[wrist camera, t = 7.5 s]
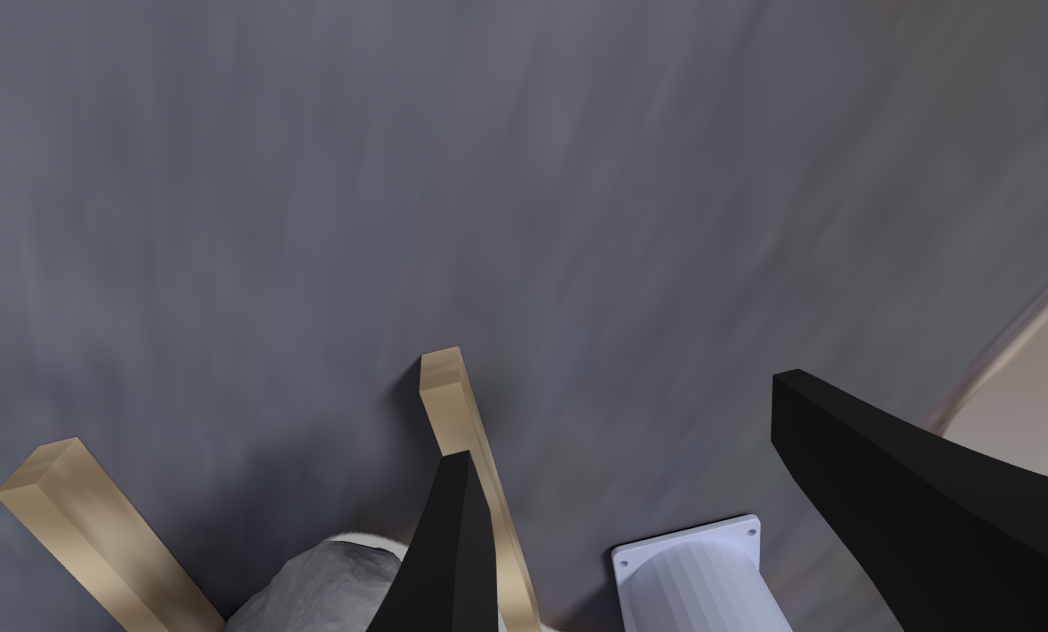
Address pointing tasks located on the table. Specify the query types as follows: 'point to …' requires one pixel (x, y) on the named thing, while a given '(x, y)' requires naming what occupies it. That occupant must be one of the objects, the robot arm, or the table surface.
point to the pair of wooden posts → (154, 574)
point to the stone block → (321, 591)
